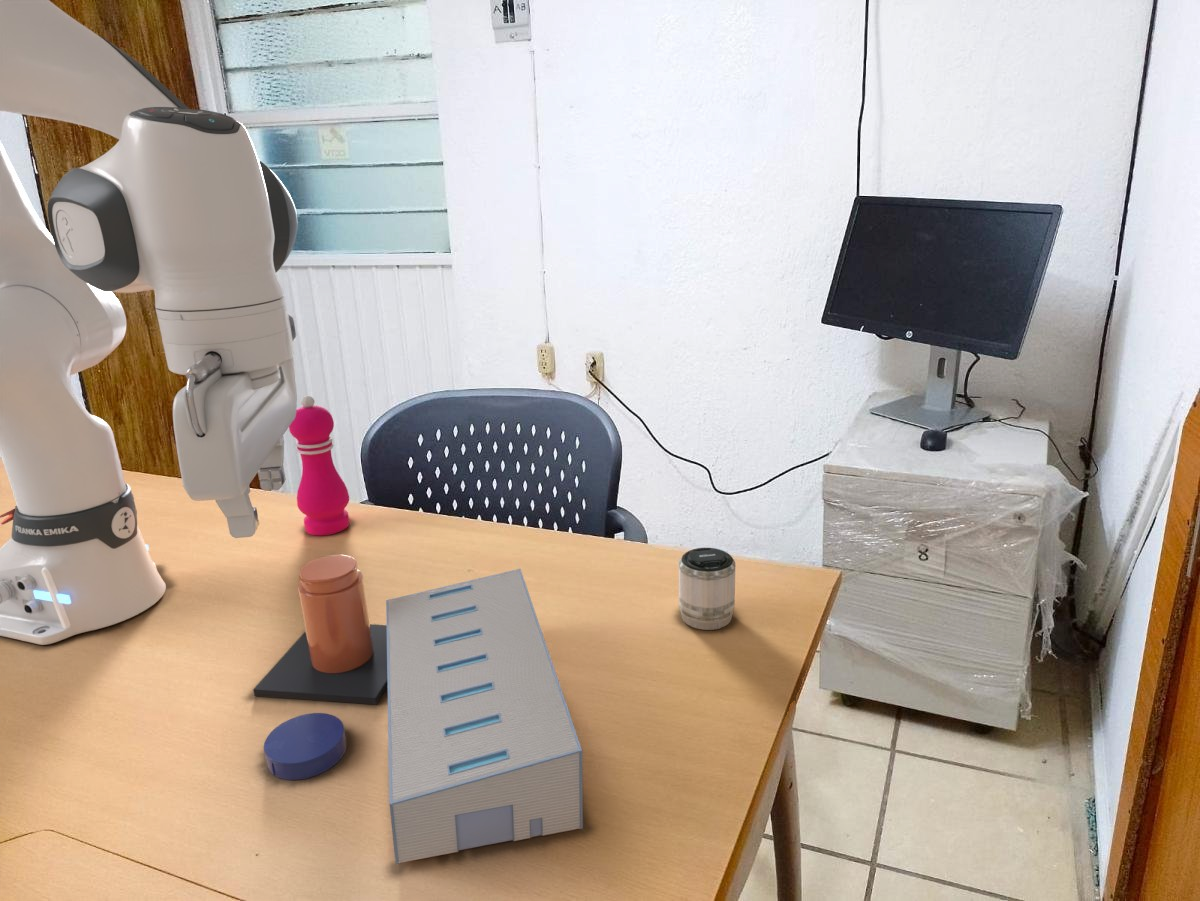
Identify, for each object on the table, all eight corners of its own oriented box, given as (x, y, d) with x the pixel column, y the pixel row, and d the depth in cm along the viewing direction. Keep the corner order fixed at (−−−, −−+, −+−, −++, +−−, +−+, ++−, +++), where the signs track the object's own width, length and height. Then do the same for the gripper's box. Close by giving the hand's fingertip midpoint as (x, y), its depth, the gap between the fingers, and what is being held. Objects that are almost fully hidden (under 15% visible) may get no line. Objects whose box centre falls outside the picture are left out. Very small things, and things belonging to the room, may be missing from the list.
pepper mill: (338, 538, 118) (317, 403, 111) (292, 536, 119) (268, 402, 112) (361, 518, 124) (343, 389, 118) (317, 515, 126) (297, 388, 119)
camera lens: (742, 627, 92) (744, 564, 89) (688, 635, 91) (688, 571, 88) (723, 600, 98) (724, 539, 95) (672, 607, 97) (671, 546, 94)
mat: (254, 696, 83) (252, 689, 83) (315, 627, 95) (314, 621, 95) (376, 704, 81) (375, 698, 81) (423, 633, 93) (422, 627, 93)
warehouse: (390, 646, 89) (384, 584, 87) (522, 629, 93) (520, 568, 90) (395, 864, 62) (387, 783, 59) (582, 828, 65) (582, 750, 63)
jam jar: (299, 671, 86) (283, 580, 82) (328, 637, 92) (313, 551, 88) (358, 675, 85) (343, 583, 81) (383, 641, 91) (370, 554, 87)
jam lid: (298, 791, 70) (295, 774, 70) (250, 762, 74) (246, 745, 73) (362, 745, 76) (360, 728, 75) (314, 719, 79) (311, 704, 79)
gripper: (235, 369, 53) (272, 563, 57) (298, 314, 72) (322, 463, 77) (130, 376, 52) (176, 572, 57) (222, 318, 71) (251, 469, 76)
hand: (260, 509), depth 67 cm, fingers open, 8 cm apart
